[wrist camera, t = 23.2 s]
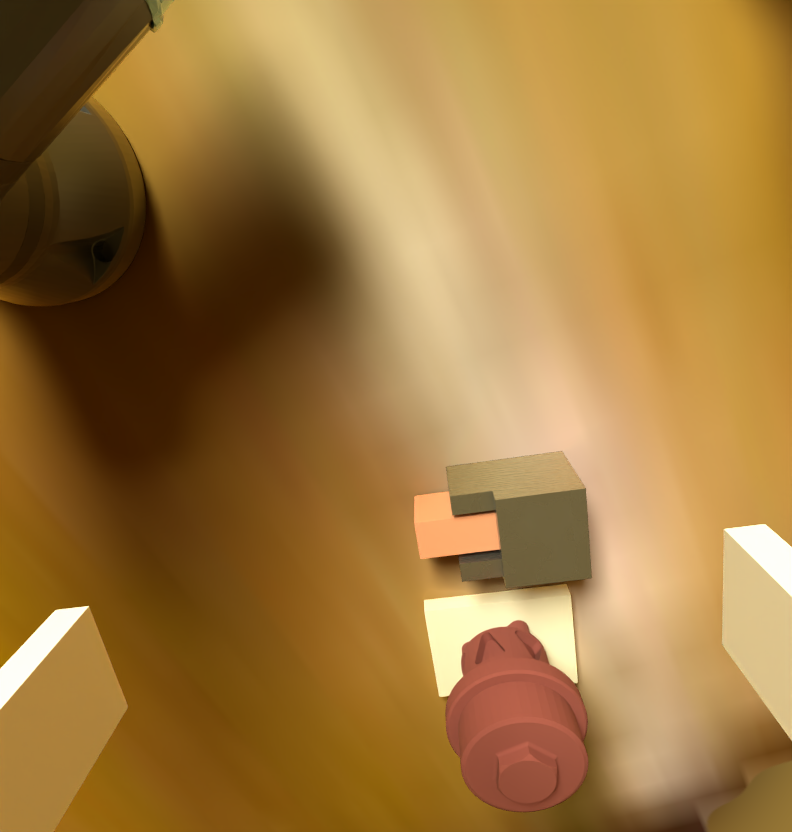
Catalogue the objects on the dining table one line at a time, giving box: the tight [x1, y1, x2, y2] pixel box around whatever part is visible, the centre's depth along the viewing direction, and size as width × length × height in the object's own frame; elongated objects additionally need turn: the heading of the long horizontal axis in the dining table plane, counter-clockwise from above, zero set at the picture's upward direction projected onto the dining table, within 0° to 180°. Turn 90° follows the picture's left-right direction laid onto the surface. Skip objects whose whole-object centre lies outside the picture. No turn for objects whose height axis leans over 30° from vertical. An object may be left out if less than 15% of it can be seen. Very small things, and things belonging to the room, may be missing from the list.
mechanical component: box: [445, 620, 588, 812], centre depth 43 cm, size 12×10×10 cm
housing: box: [446, 451, 592, 588], centre depth 43 cm, size 9×7×7 cm
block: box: [424, 584, 578, 697], centre depth 49 cm, size 12×9×2 cm
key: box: [414, 491, 500, 559], centre depth 44 cm, size 8×3×4 cm, turn 99°
